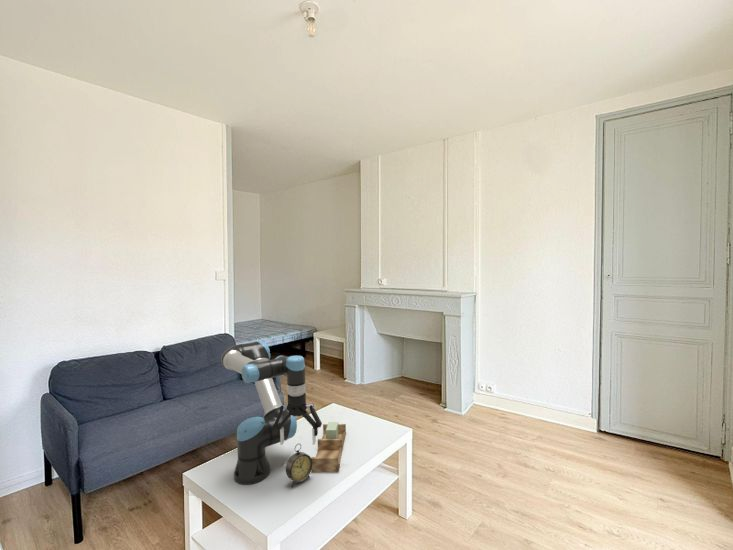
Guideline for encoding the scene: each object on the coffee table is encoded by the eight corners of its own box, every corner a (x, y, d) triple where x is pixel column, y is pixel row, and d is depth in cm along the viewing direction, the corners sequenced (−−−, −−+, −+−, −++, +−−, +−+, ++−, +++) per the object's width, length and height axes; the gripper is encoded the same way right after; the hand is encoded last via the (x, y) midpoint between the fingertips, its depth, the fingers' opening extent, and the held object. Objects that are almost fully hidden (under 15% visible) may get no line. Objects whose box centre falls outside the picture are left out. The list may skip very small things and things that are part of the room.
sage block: (326, 445, 175) (325, 430, 174) (329, 436, 184) (328, 421, 183) (336, 445, 174) (335, 430, 174) (338, 436, 183) (338, 421, 183)
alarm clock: (291, 490, 143) (290, 451, 142) (284, 484, 147) (283, 446, 146) (313, 478, 150) (312, 441, 150) (306, 473, 154) (305, 436, 154)
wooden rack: (311, 472, 155) (311, 458, 155) (323, 435, 188) (323, 424, 188) (338, 472, 154) (338, 458, 154) (345, 435, 187) (345, 423, 187)
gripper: (264, 397, 144) (266, 448, 145) (324, 396, 143) (326, 447, 144) (270, 390, 152) (271, 439, 152) (327, 389, 150) (328, 438, 151)
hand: (298, 443), depth 148 cm, fingers open, 13 cm apart
